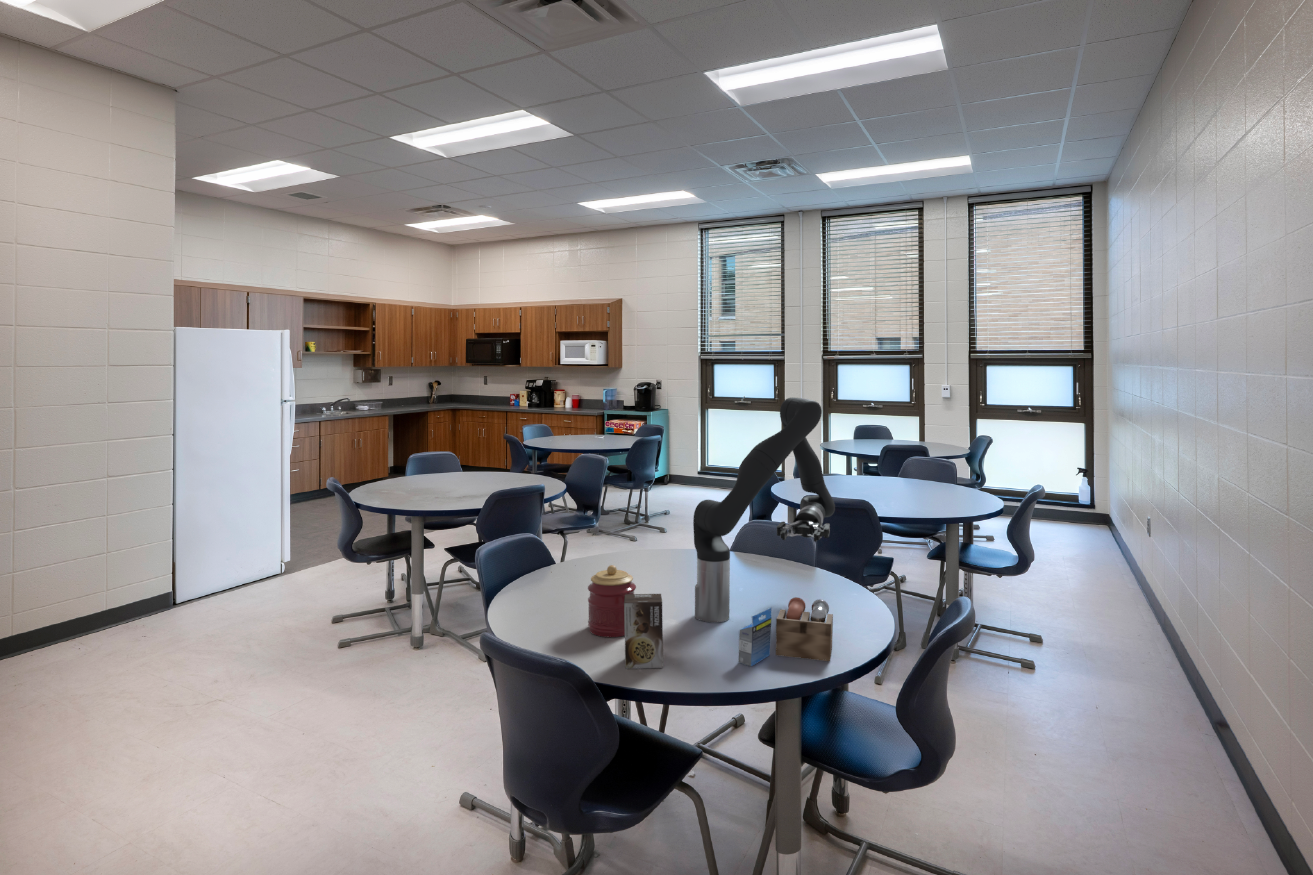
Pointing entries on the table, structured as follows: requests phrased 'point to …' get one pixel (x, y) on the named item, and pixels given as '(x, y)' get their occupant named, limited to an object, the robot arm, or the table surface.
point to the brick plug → (795, 608)
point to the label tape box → (755, 639)
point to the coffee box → (643, 631)
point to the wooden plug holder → (804, 637)
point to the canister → (608, 602)
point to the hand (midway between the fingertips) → (799, 537)
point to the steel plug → (819, 611)
